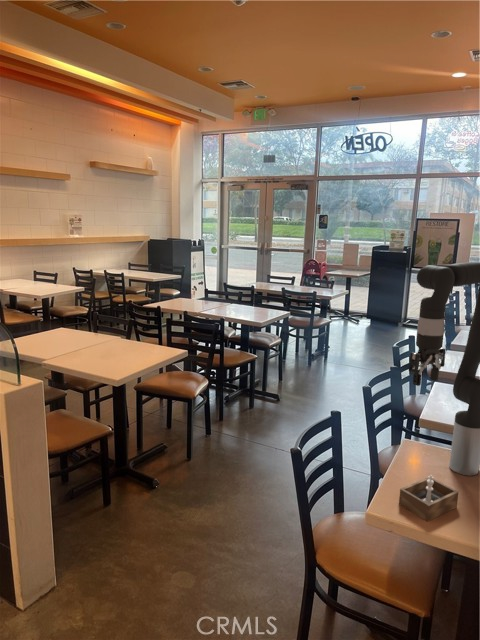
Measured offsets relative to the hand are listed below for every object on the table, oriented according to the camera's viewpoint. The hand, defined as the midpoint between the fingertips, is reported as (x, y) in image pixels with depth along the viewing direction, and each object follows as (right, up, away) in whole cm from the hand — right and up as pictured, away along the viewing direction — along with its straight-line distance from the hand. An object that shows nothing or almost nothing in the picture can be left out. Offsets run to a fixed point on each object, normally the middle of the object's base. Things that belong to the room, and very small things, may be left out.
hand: (425, 382), depth 143 cm
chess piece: (-1, -37, -3) cm, 37 cm away
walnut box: (-1, -37, -4) cm, 37 cm away
